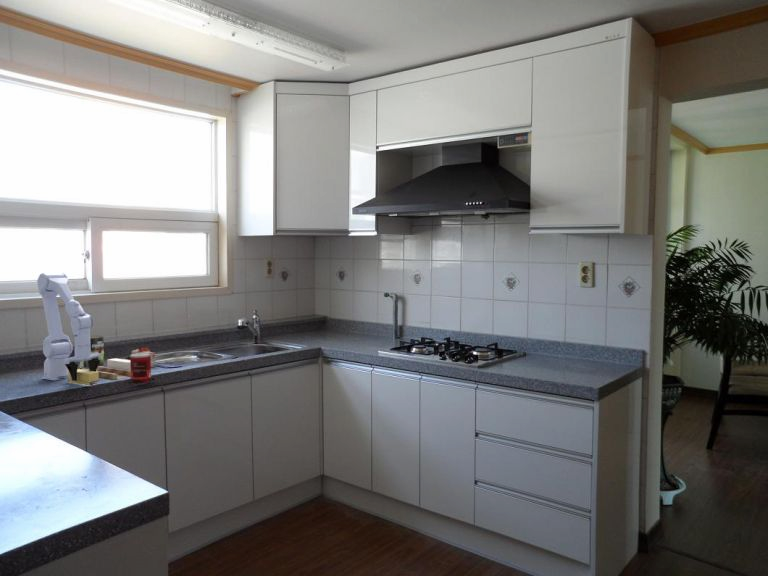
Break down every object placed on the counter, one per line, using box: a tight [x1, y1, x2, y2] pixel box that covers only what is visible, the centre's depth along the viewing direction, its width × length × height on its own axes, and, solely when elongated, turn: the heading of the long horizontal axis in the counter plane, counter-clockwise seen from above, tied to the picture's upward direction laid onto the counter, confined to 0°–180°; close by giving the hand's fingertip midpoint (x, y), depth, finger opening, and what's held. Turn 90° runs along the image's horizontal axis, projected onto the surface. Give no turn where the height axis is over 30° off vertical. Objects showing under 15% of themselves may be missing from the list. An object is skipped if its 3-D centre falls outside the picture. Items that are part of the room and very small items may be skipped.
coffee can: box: [79, 335, 105, 369], centre depth 275 cm, size 10×10×14 cm
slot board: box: [81, 365, 131, 380], centre depth 253 cm, size 22×16×4 cm
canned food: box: [129, 353, 152, 384], centre depth 244 cm, size 8×8×11 cm
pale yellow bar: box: [67, 368, 100, 386], centre depth 241 cm, size 14×4×5 cm, turn 60°
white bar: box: [106, 358, 131, 371], centre depth 256 cm, size 14×4×5 cm, turn 60°
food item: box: [130, 346, 157, 368], centre depth 271 cm, size 14×8×10 cm, turn 46°
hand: (83, 378), depth 241 cm, fingers open, 7 cm apart
